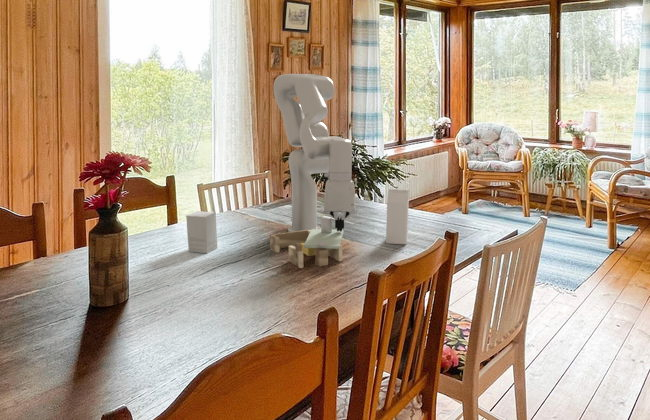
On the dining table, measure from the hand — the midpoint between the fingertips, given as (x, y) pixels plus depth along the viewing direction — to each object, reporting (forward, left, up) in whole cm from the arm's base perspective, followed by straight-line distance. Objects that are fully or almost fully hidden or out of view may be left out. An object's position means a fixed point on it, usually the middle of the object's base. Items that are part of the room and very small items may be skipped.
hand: (339, 230), depth 186 cm
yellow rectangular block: (-2, -11, -7) cm, 13 cm away
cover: (+3, -7, -2) cm, 8 cm away
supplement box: (-22, -41, -7) cm, 47 cm away
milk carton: (+1, +23, -7) cm, 24 cm away
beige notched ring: (0, -13, -7) cm, 14 cm away
